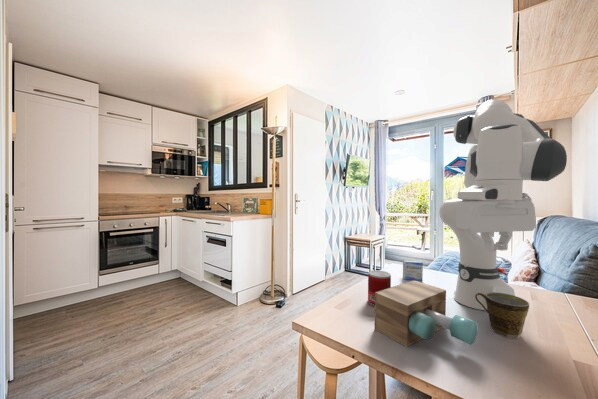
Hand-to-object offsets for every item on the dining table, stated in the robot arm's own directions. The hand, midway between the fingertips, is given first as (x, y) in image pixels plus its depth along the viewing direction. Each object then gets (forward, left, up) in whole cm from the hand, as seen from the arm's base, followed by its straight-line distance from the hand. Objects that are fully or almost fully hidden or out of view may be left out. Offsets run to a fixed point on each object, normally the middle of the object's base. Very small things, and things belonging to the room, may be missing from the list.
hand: (496, 250), depth 60 cm
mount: (+8, -16, -27) cm, 33 cm away
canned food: (+9, -36, -27) cm, 46 cm away
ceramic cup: (-16, -11, -27) cm, 33 cm away
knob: (+6, -9, -24) cm, 26 cm away
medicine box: (-21, -56, -27) cm, 66 cm away
